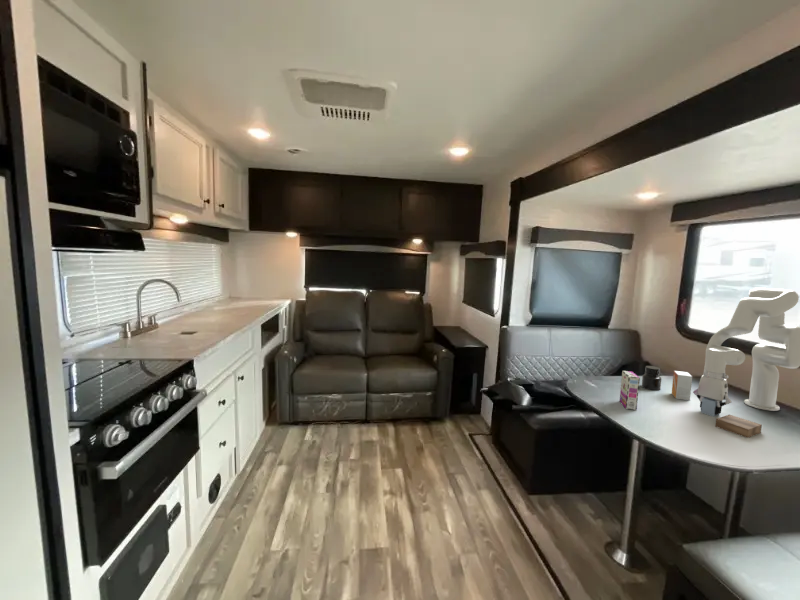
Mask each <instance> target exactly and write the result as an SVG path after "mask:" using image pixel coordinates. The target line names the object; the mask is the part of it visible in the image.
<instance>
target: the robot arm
mask: <svg viewBox="0 0 800 600" xmlns="http://www.w3.org/2000/svg"><path fill="white" fill-rule="evenodd" d="M799 299H800V298H799V294H798V292H796V291H795V290H792V289H784V288H770V287H769V288H768V287H767V288H766V287H755V288H753V289H750V290H749V292H748V297H744V298H741V299H740V301H739V302H738V303H737V304H738V305H737V306H736V308H735V310H734V313H733V315H732V317H731V319H730V322H729V324H728V325H727V326H725V327H723V328H721V329H720V330H718V331H716V332H715V333H714V334H713V335H712V336H711V337H710V338H709V341H708V343H707V346H706V348H705V359H704V366H703V367H704V368H703V374H702V375H701V376H700V379H699V383H698V386H697V387H698V388H697V389H694V391H693V392H692V393H693V394H694V395H695V397H697V399H698V400H699V402H700V403H699V404H700V405H699V408H701V406H702V398H705V397H707V398H710V399H714V400H716V403H717V406H716V408H715V415H717V416H719V415H721V413H722V409H723V408H722V407H724V406H725V405H730V404H731V403H732V400H731V399H730V398H729V395H728V394H729V387H728V380H727V379H729V375H728V374H726V369H727V365H729V366H730V365H731V366H740V365H741V364H743V363H744V362H745V361H746V355H745V353H744V352H743V351H742V350H739V349H736V348H731V347H727V346H722V344H723V343H724V342H725V341H726V340H727V339H730V338H733V337H736V336H742V335H747V334H750V333H752V332H753V331H754V329H755V327H756V326H755V325H756V324H757V322H758V333H757V334H758V338H759V339H760V340H762V341H764V342H768V343H757V344H755V345H754V346H753V347H752V350H751V356H752V372H751V380H750V386H749V387H750V388H749V394H748V395H749V398H747V399H744V401H743V402H744V403H745V405H747V406H749V407H752V408H756V409H758V410H759V409H760V410H764V411H769V412H770V411H771V412H777V411H780V410H781V409H780V406H779V405H778V404H777V396H778V388H779V381H780V372H779V369H778V368H777V367H781V368H786V369H790V370H791V369H798V368H800V326H797V325H791V324H786V323H785V318H786V317H785V316H786V315H785V313H786V312H788V311H790V310H792V308H794V307H795V306H796V305H797V304H798V302H799ZM758 319H759V320H758ZM769 343H770V344H769ZM771 343H775V344H771ZM776 344H780V345H785V346H780V345H776ZM718 414H719V415H718Z"/></svg>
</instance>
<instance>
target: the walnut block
mask: <svg viewBox="0 0 800 600" xmlns="http://www.w3.org/2000/svg"><path fill="white" fill-rule="evenodd" d="M714 427H715V428H718V429H721V430H723V431H724V430H725V431H727V432H729V433H732V434H735V435H738V436H741V437H744V438H746V439H748V438H751V437H754V436H757V435H759V434H761V433H762V424H761V423H758V422H755V421H751V420H748V419H746V418H745V419H744V418H742V417H738V416H736V415H733V414H727V415H723V416H720V417H717V418H715V425H714Z"/></svg>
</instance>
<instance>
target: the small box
mask: <svg viewBox="0 0 800 600" xmlns="http://www.w3.org/2000/svg"><path fill="white" fill-rule="evenodd" d="M692 383H693V375H691V374H690V373H689V372H688V371H682V370H681V371H679V370H673V376H672V383H671V384H672V385H671V395H672V396H673V397H674V398H675V399H677V400H685V401H691V394H692V393H691V391H692Z"/></svg>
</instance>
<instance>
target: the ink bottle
mask: <svg viewBox="0 0 800 600" xmlns="http://www.w3.org/2000/svg"><path fill="white" fill-rule="evenodd" d="M644 369H645V370H644V374H642V378H641V379H642V380H641V387H642V388H644V389H646V390H651V391H660V390H661V389H662V377H661V376H660V373H661V368H660V367H658V366H653V365H645V367H644Z"/></svg>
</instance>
